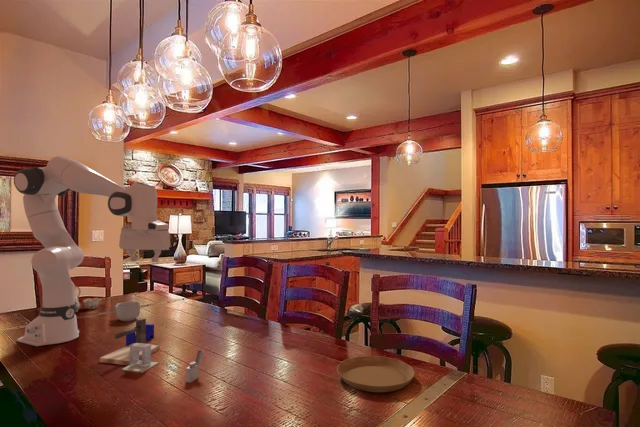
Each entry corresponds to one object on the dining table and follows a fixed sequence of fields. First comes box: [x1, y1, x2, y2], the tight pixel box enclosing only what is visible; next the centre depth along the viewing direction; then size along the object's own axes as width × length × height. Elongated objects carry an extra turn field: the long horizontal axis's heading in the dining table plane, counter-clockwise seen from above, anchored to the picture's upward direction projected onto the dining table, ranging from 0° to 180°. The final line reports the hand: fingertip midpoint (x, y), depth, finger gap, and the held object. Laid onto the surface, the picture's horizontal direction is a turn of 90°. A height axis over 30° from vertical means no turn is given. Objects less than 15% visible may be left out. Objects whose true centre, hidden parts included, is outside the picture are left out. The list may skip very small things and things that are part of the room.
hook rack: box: [99, 317, 161, 366], centre depth 137 cm, size 12×16×12 cm
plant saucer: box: [336, 355, 415, 393], centre depth 117 cm, size 24×24×3 cm
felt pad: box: [121, 361, 159, 374], centre depth 126 cm, size 8×8×1 cm
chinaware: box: [75, 285, 102, 313], centre depth 201 cm, size 28×17×17 cm, turn 177°
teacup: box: [114, 301, 141, 322], centre depth 186 cm, size 14×11×8 cm
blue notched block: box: [125, 323, 155, 346], centre depth 152 cm, size 12×4×6 cm, turn 163°
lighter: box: [185, 349, 206, 383], centre depth 118 cm, size 7×2×8 cm, turn 162°
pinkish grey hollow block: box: [130, 343, 152, 368], centre depth 126 cm, size 6×3×7 cm, turn 76°
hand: (144, 261), depth 141 cm, fingers open, 8 cm apart
